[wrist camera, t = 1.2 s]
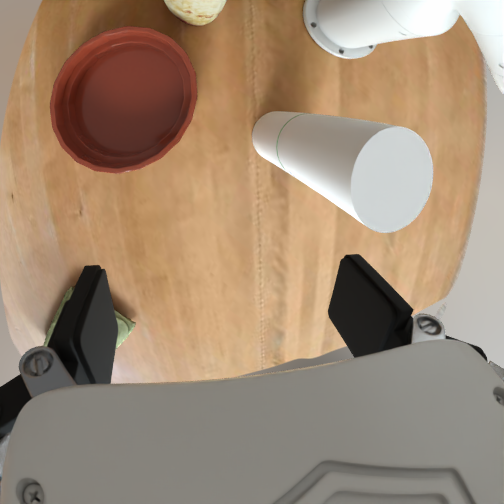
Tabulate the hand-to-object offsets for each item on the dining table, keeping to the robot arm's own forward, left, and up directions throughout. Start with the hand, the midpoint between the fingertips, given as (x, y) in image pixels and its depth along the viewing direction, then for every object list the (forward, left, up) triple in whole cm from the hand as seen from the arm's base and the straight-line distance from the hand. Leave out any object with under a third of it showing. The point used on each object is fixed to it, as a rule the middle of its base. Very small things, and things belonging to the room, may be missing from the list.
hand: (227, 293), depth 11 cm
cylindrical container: (-12, +2, -31) cm, 33 cm away
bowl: (+4, -11, -30) cm, 33 cm away
